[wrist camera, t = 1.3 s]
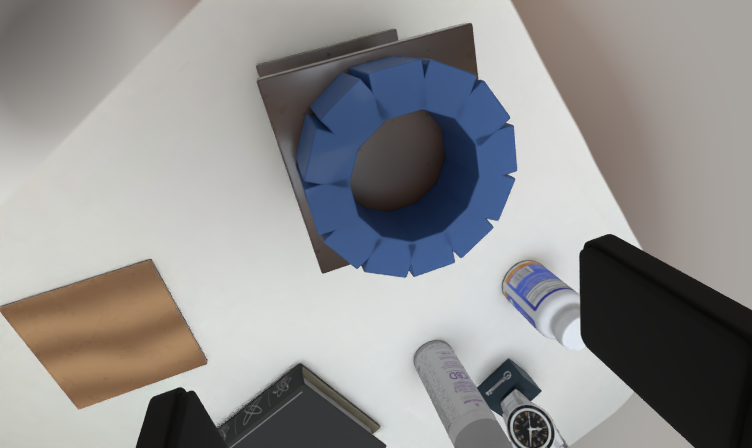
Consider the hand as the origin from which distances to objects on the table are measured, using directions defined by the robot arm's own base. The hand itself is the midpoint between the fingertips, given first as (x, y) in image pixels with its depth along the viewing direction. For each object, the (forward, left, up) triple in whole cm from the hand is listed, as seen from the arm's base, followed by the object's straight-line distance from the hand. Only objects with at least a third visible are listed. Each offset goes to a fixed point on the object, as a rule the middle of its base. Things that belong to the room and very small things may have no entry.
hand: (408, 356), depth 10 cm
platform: (0, +4, -28) cm, 28 cm away
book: (+34, -14, -28) cm, 46 cm away
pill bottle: (+23, +19, -28) cm, 41 cm away
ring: (0, +4, -14) cm, 14 cm away
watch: (+37, +15, -28) cm, 49 cm away
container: (+29, +7, -28) cm, 41 cm away
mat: (+13, -21, -28) cm, 37 cm away
